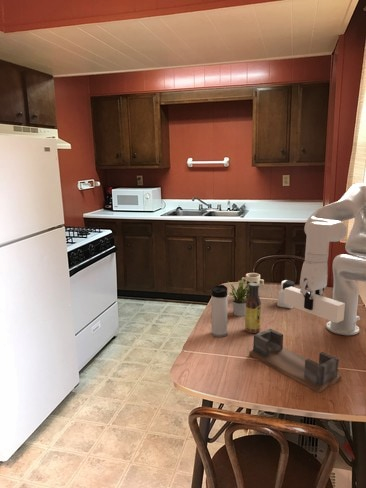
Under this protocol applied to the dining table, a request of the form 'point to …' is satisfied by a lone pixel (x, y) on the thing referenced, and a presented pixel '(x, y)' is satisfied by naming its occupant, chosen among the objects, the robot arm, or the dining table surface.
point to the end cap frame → (295, 362)
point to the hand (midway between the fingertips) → (312, 307)
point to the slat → (316, 305)
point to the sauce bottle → (253, 309)
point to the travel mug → (219, 311)
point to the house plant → (239, 298)
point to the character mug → (254, 278)
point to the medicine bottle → (281, 293)
